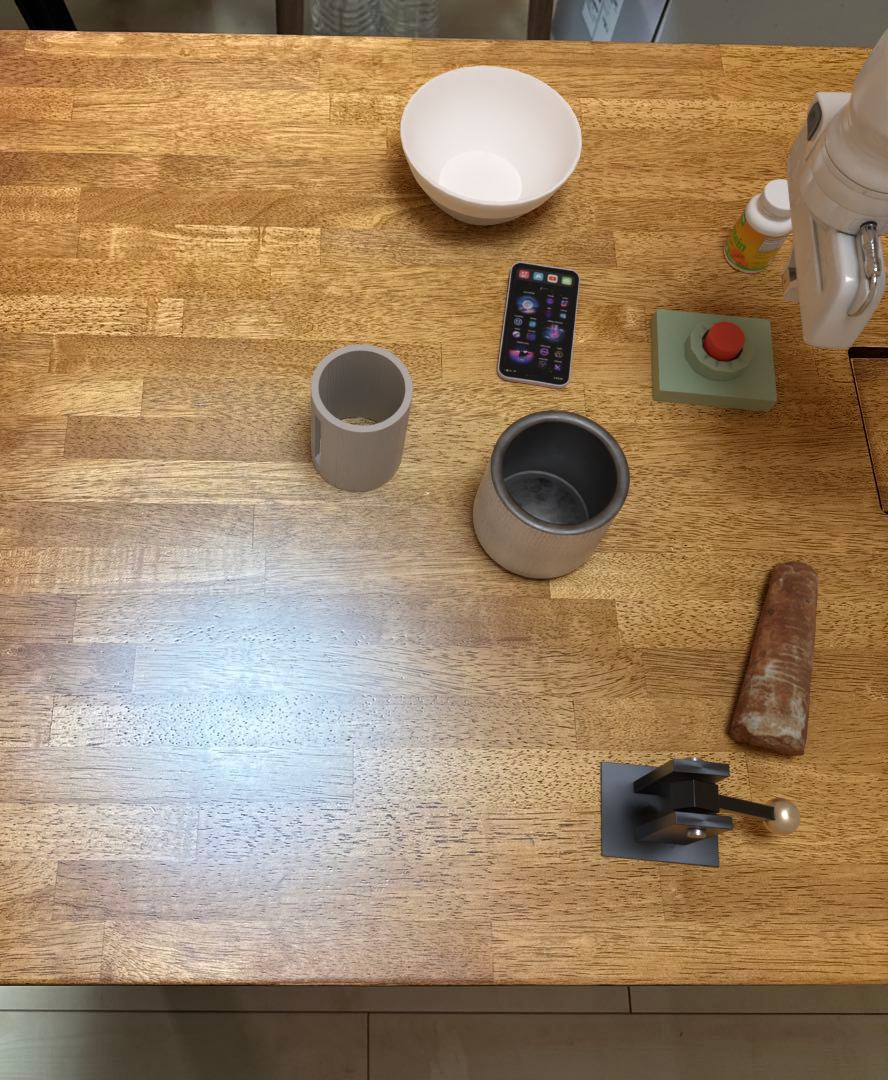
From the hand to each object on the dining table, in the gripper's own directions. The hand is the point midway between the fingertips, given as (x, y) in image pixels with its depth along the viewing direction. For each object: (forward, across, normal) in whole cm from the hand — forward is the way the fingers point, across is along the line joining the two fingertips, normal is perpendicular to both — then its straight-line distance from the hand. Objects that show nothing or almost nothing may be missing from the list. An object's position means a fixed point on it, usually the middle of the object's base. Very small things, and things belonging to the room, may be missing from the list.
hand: (790, 288), depth 91 cm
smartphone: (+16, +5, +20) cm, 26 cm away
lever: (+10, -44, +5) cm, 46 cm away
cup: (+16, -12, +38) cm, 43 cm away
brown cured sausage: (+17, -29, -2) cm, 34 cm away
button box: (+17, +2, +2) cm, 17 cm away
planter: (+17, -18, +19) cm, 31 cm away
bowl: (+16, +23, +27) cm, 39 cm away
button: (+13, +2, +1) cm, 13 cm away
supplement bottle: (+17, +18, -3) cm, 25 cm away
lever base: (+17, -44, +8) cm, 48 cm away
